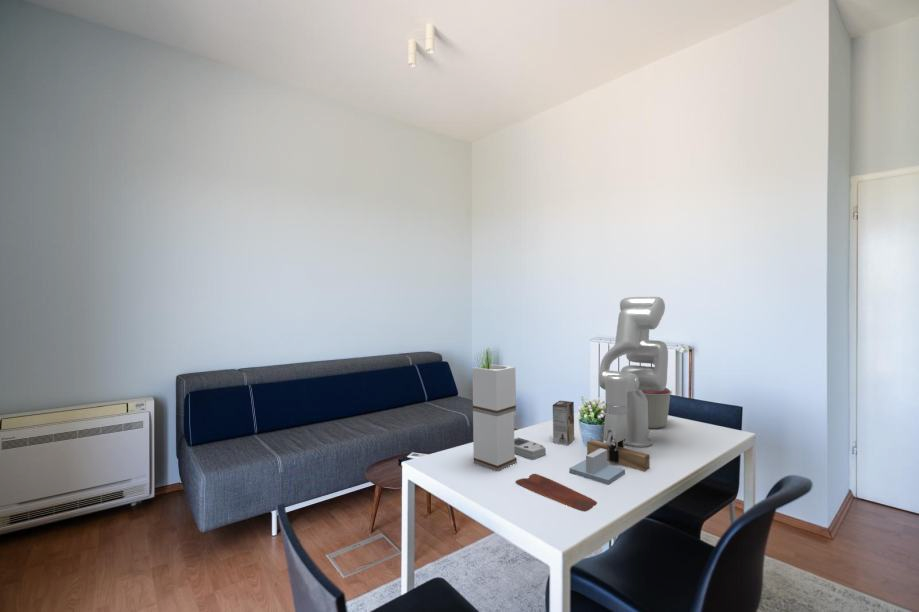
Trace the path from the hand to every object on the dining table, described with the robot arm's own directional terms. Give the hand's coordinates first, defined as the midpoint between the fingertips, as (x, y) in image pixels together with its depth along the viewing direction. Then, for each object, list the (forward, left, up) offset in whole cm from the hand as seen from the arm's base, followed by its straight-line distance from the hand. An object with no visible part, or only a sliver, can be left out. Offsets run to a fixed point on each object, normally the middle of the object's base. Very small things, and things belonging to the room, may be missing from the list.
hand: (616, 458), depth 156 cm
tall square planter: (+32, -31, -1) cm, 44 cm away
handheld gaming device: (+15, -30, -2) cm, 34 cm away
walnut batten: (0, 0, -1) cm, 1 cm away
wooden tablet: (+37, -2, -2) cm, 37 cm away
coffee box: (-6, -26, -1) cm, 27 cm away
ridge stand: (+15, 0, -1) cm, 15 cm away
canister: (-53, -9, -1) cm, 54 cm away
